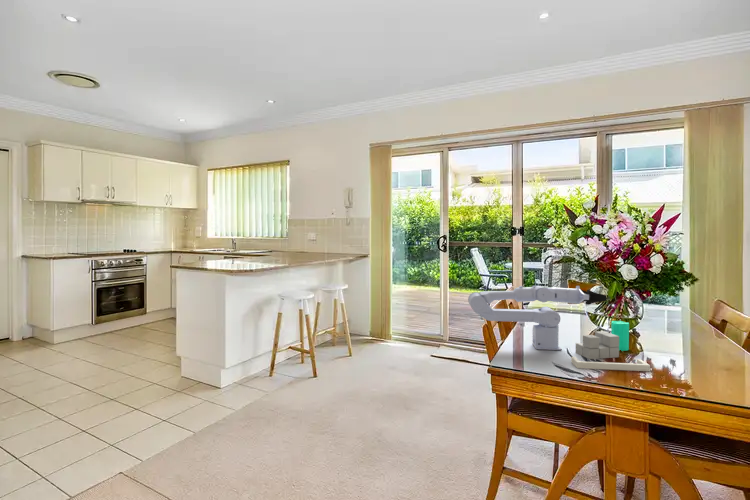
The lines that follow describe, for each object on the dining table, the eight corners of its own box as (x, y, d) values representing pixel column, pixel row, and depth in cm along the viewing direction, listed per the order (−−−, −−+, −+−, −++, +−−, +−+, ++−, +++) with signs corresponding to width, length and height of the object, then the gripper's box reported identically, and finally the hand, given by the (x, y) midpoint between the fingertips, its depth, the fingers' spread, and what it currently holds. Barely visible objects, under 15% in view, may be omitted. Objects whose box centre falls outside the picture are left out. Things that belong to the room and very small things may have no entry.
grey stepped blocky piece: (596, 348, 158) (596, 328, 157) (619, 357, 146) (619, 336, 146) (568, 350, 156) (568, 330, 156) (589, 359, 144) (589, 338, 144)
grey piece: (577, 368, 135) (577, 362, 135) (571, 362, 141) (571, 356, 141) (649, 371, 131) (650, 365, 131) (640, 365, 137) (640, 359, 137)
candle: (631, 351, 153) (632, 320, 152) (614, 350, 154) (614, 319, 154) (625, 346, 159) (625, 317, 158) (608, 346, 160) (609, 316, 159)
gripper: (571, 285, 150) (610, 287, 149) (559, 284, 165) (594, 286, 163) (571, 304, 150) (609, 306, 148) (558, 301, 164) (593, 303, 163)
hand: (601, 297), depth 156 cm, fingers open, 7 cm apart
